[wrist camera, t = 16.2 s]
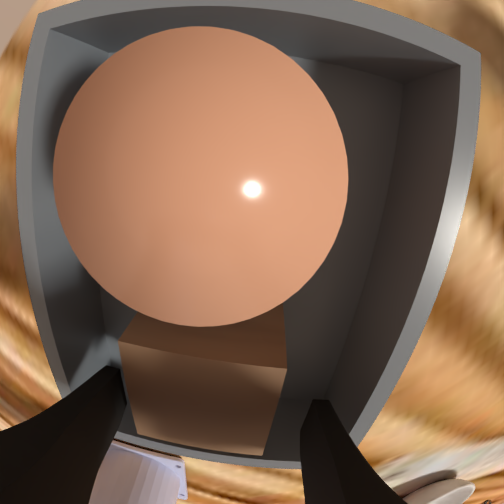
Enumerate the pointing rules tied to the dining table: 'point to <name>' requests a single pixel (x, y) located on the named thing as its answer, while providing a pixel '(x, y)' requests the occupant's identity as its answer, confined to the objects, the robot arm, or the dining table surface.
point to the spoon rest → (442, 492)
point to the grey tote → (355, 215)
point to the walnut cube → (206, 380)
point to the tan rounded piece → (200, 176)
